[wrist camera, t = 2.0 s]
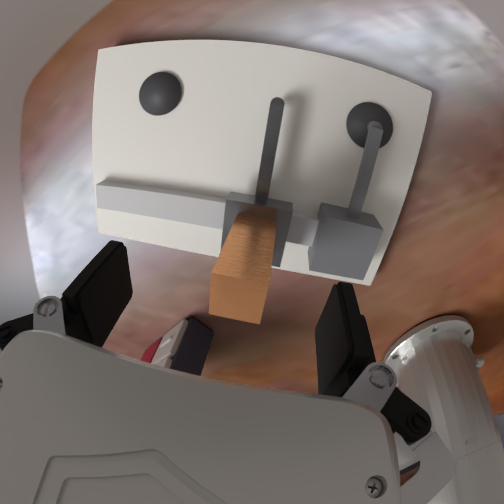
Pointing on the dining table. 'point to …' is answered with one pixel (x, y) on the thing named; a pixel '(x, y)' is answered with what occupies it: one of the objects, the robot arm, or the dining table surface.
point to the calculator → (181, 348)
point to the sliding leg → (251, 238)
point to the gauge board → (254, 148)
